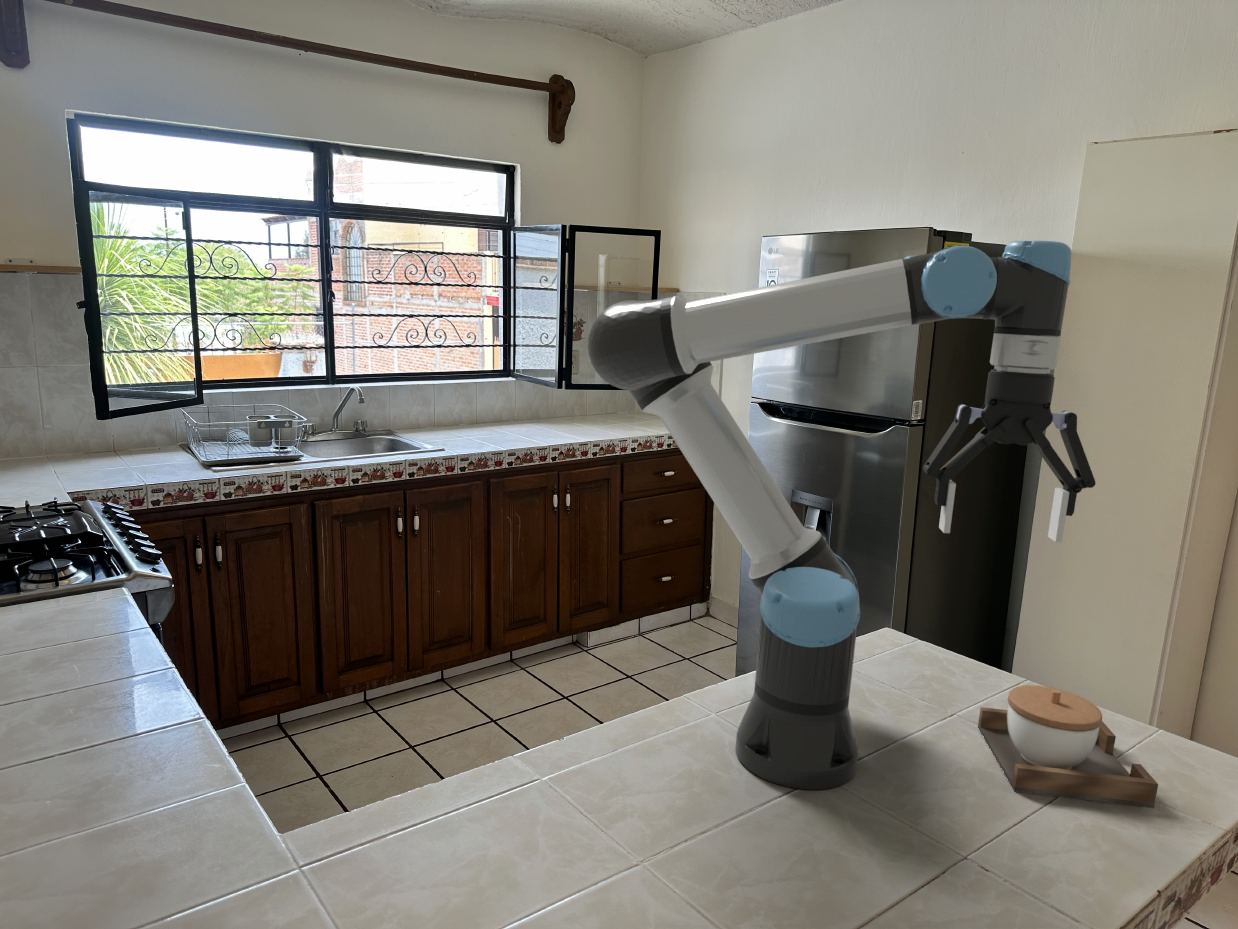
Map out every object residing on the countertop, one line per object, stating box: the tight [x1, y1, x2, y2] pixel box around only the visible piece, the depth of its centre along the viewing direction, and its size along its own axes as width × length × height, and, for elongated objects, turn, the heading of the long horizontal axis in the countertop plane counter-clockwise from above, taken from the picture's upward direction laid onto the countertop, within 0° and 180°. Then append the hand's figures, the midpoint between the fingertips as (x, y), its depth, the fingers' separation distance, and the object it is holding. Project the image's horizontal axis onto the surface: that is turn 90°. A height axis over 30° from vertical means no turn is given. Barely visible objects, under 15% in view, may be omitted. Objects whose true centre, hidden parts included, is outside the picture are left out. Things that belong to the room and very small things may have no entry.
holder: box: [977, 706, 1159, 809], centre depth 108 cm, size 16×16×3 cm
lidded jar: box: [1006, 684, 1103, 770], centre depth 108 cm, size 11×11×9 cm
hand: (998, 535), depth 109 cm, fingers open, 13 cm apart
